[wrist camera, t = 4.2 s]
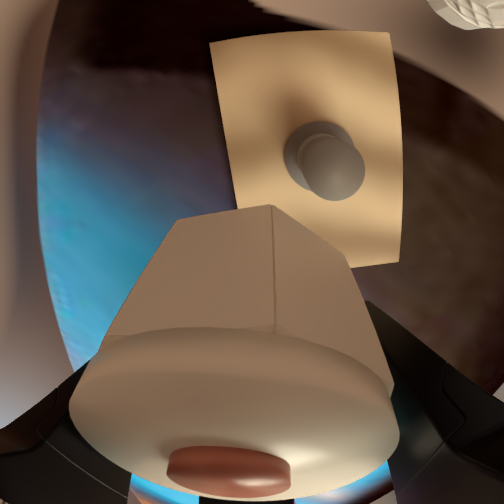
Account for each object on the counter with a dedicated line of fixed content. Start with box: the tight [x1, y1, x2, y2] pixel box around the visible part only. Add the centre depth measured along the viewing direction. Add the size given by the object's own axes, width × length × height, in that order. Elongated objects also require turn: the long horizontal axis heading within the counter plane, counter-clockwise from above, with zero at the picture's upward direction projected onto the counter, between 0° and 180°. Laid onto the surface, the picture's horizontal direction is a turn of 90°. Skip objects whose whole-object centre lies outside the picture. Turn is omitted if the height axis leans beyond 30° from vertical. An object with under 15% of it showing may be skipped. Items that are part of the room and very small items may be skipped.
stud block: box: [209, 30, 403, 268], centre depth 16 cm, size 16×11×5 cm
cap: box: [69, 204, 400, 501], centre depth 7 cm, size 7×7×6 cm
